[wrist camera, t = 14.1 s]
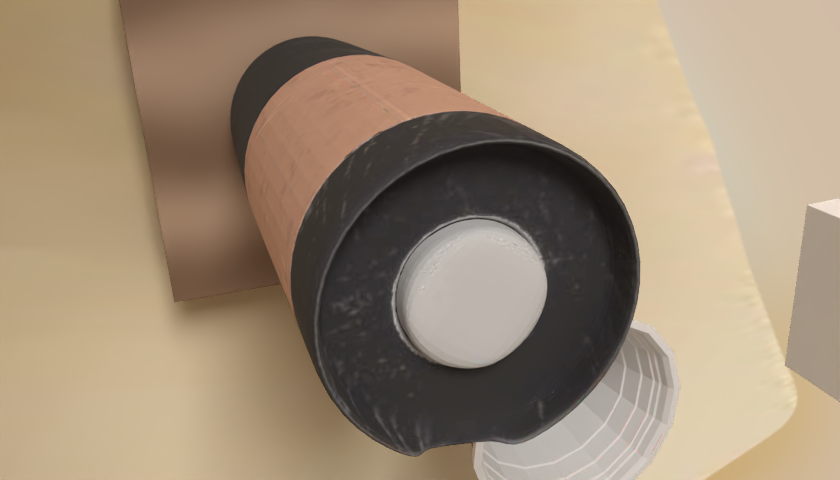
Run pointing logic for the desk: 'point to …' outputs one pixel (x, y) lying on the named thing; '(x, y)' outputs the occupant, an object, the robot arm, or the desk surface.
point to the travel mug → (431, 247)
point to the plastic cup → (600, 422)
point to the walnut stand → (211, 110)
